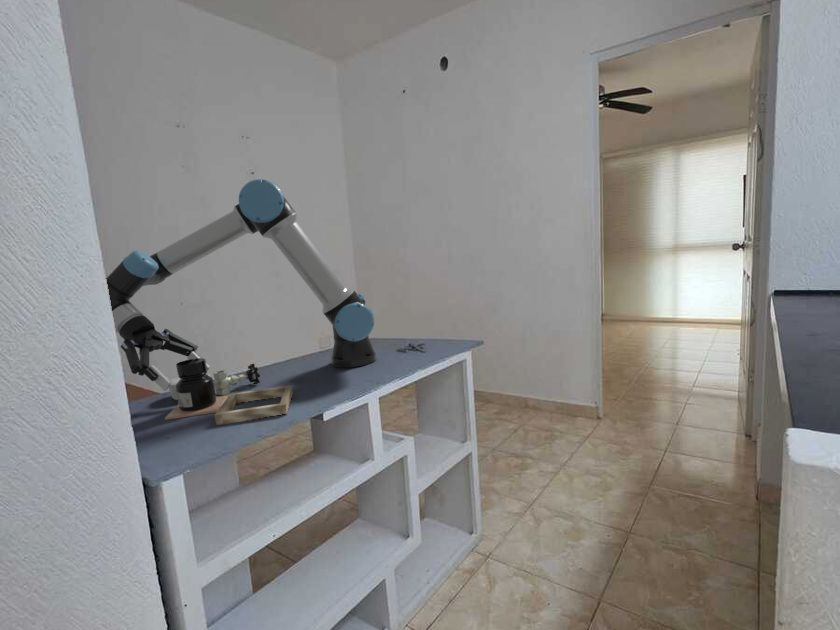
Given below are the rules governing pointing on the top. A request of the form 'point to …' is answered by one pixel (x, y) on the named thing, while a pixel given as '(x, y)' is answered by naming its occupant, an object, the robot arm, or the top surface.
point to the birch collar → (232, 416)
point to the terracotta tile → (210, 409)
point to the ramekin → (174, 387)
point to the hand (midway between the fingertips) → (188, 378)
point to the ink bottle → (194, 385)
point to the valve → (233, 379)
